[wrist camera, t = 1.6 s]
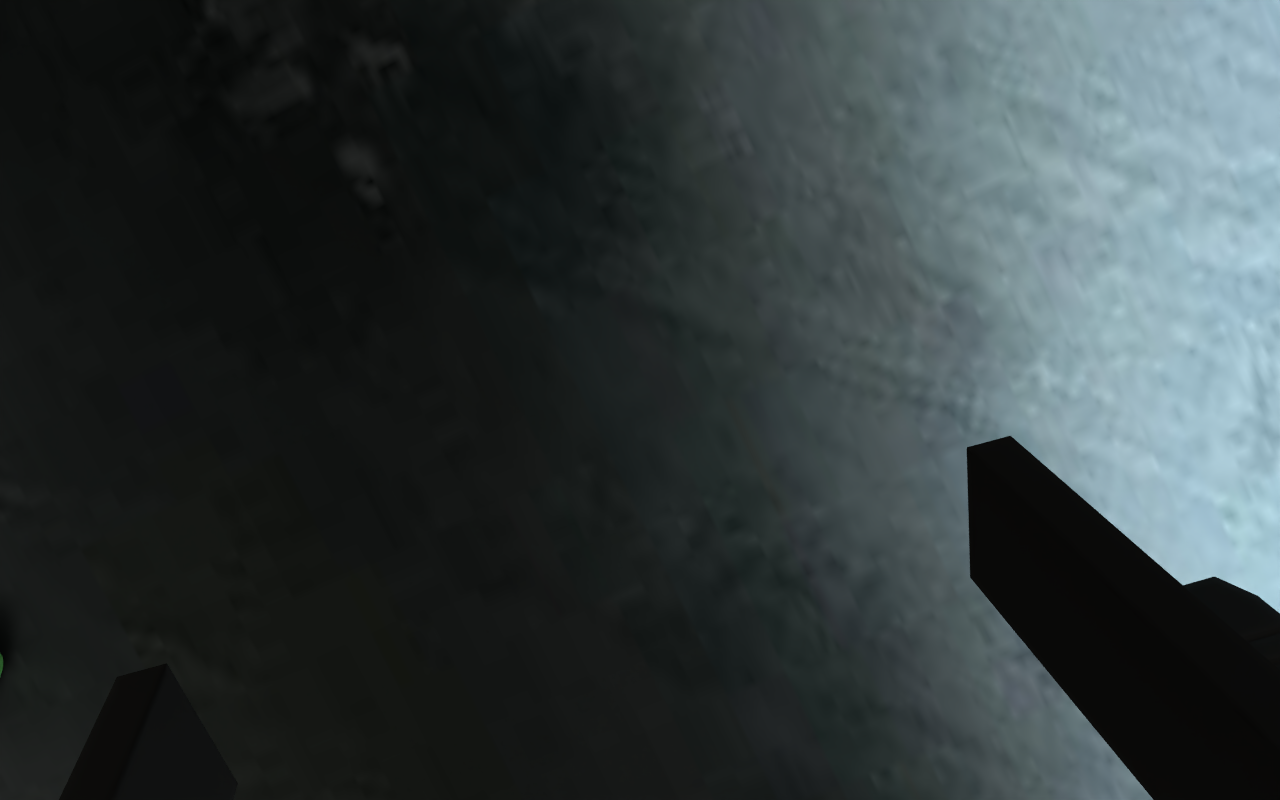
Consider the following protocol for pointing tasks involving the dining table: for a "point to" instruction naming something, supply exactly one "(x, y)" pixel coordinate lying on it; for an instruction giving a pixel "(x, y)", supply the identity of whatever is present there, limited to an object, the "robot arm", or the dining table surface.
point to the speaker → (1, 664)
